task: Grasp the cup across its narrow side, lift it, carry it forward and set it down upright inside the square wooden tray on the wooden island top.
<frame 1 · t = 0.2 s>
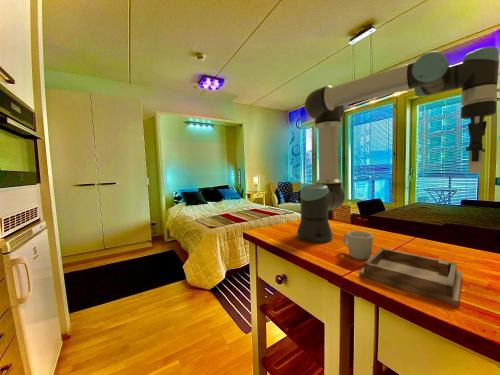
hand: (475, 172, 68), 28 cm above the worktop, fingers open, 13 cm apart
cup: (356, 256, 75), on the worktop
square wooden tray: (409, 276, 59), on the worktop
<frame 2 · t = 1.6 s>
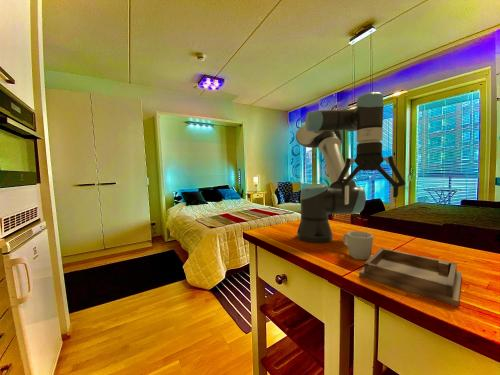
hand: (367, 205, 73), 17 cm above the worktop, fingers open, 13 cm apart
nothing on the worktop moved.
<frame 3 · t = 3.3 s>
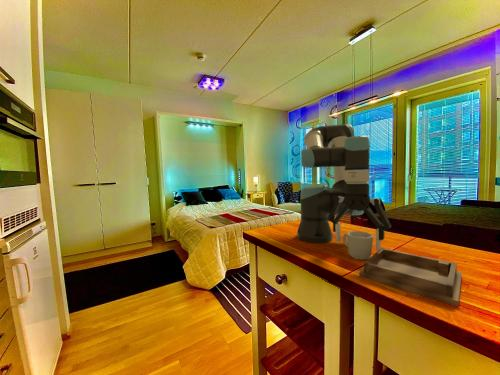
hand: (356, 245, 74), 4 cm above the worktop, fingers open, 12 cm apart
nothing on the worktop moved.
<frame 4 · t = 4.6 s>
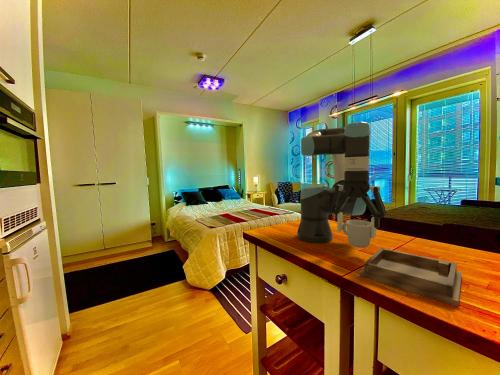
hand: (355, 233, 75), 8 cm above the worktop, fingers closed on cup, 10 cm apart
cup: (355, 244, 75), point 4 cm above the worktop, touching gripper
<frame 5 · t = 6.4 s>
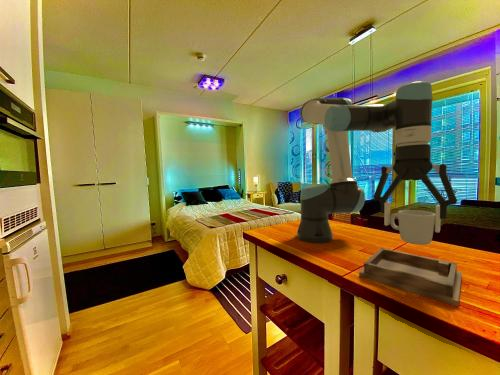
hand: (410, 227, 58), 14 cm above the worktop, fingers closed on cup, 10 cm apart
cup: (409, 241, 59), point 10 cm above the worktop, touching gripper
when the fingers open (5 cm above the worktop, at t = 8.3 s): cup stays where it is, resting on square wooden tray.
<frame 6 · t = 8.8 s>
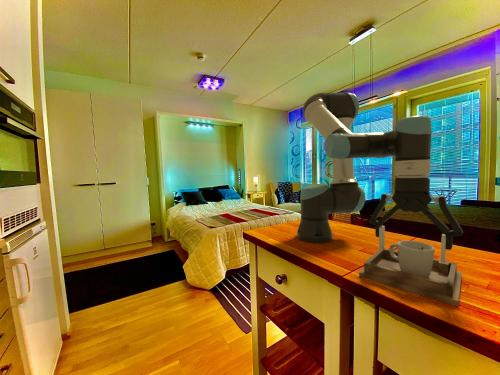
hand: (409, 254, 59), 6 cm above the worktop, fingers open, 13 cm apart
cup: (409, 272, 59), point 1 cm above the worktop, touching square wooden tray
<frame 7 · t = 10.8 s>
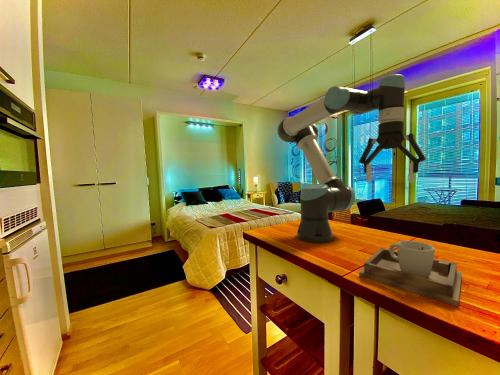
hand: (388, 182, 78), 25 cm above the worktop, fingers open, 13 cm apart
nothing on the worktop moved.
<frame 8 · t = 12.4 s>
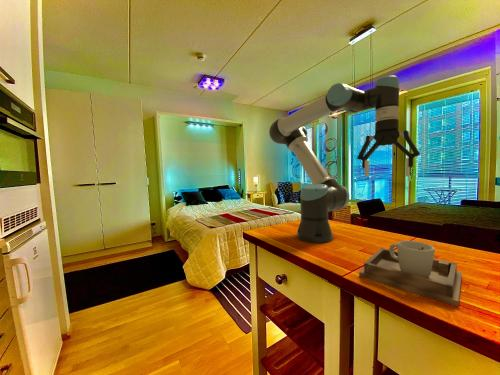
hand: (385, 176, 83), 27 cm above the worktop, fingers open, 13 cm apart
nothing on the worktop moved.
at the end: cup inside the target area on the square wooden tray (0.1 cm from its centre), point 1.0 cm above the square wooden tray's base; cup tilted 0°; the gripper is holding nothing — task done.
